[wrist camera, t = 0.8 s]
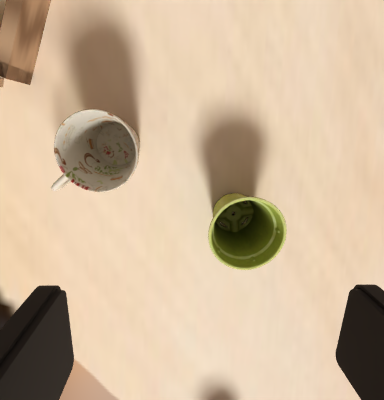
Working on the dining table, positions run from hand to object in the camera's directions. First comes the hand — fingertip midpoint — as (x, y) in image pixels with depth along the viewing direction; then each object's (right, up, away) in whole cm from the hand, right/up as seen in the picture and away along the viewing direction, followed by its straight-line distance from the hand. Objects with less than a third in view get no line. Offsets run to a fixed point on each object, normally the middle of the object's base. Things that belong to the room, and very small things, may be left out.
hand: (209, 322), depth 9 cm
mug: (-12, +10, +28) cm, 32 cm away
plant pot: (+6, +2, +31) cm, 32 cm away
